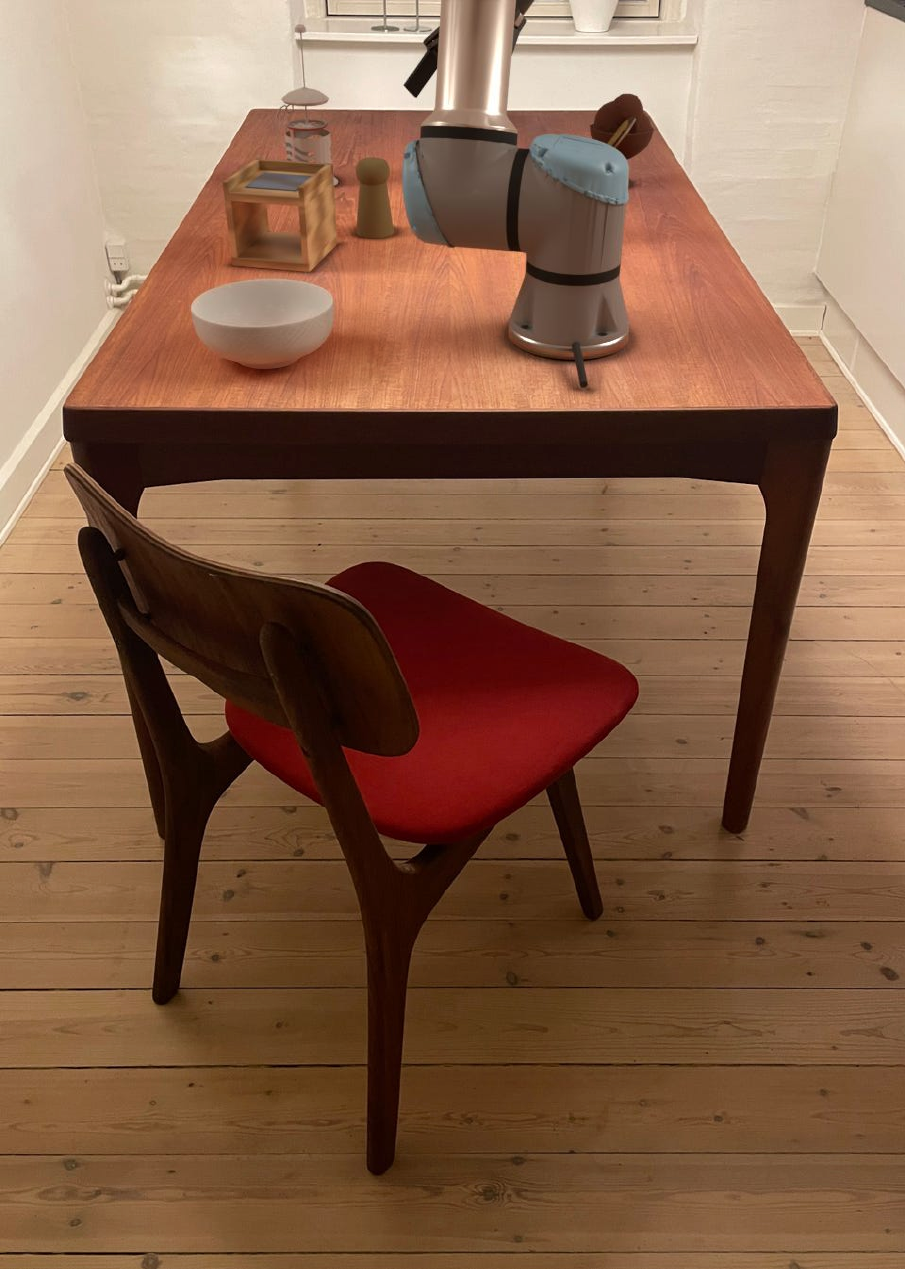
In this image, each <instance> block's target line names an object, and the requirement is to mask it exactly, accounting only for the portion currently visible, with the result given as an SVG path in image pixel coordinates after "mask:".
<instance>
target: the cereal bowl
mask: <svg viewBox="0 0 905 1269" xmlns="http://www.w3.org/2000/svg"><path fill="white" fill-rule="evenodd" d="M190 315H191V319H192V323H193V327H194V329H195V333H196V335H197V337H198V339H199V340H200V341H201V343H202V344H203V345H204V346H205V347H206V348H207V349H208V350H209V351H210V352H211V353H213V354H215V355H216V356H218V357H221V358H222V359H224V360H228V361H232V362H235V363H238V364H240V365H242V366H243V367H246V368H250V369H254V370H255V369H256V370H273V369H274V370H275V369H280V368H285V367H287V366H290V365H292V364H294V363H296V362H298V361H299V360H300V359H301V358H303V357H306V356H308V355H310V354H312V353H313V352H315V351H316V350H318V349H319V348H321V346H323V344H324V343H325V342H326V341H327V339H328V338H329V336H330V334H331V333H332V330H333V327H334V323H335V300H334V296H333V295H332V293H330V291H328V290H327V289H326V288H324V287H322V286H320V285H317V284H315V283H311V282H308V281H304V280H297V279H288V278H257V279H255V278H254V279H247V280H241V281H240V280H239V281H235V282H229V283H225V284H222V285H219V286H216V287H213V288H210V289H208V290H206V291H204V292H203V293H200V295H198V296H197V297H196V298H194V299H193V301H192V303H191V305H190Z"/></svg>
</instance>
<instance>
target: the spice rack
mask: <svg viewBox="0 0 905 1269" xmlns="http://www.w3.org/2000/svg"><path fill="white" fill-rule="evenodd" d="M315 162H316V161H312V162H311V161H308V162H300V161H287V159H285V160H282V159H270V158H258V157H257V158H255V159H253V160H252V161H250V162H249V163H248V164H246V165H245V166H243V167H241V168H240V169H239V170H238V171H236V172H235V173H233V174H232V175H230V176H229V177H227V178H226V179H224V180H223V181H222V189H223V198H224V207H225V216H226V224H227V233H228V241H229V252H230V260H231V266H236V267H246V268H247V267H248V268H257V269H258V268H259V269H270V270H279V271H280V270H281V271H290V272H302V273H310V272H311V271H312V270H313V269H314V268H315V267H316V266H317V265H318V264H319V263H320V262H322V260H323V259H324V258H326V256H327V255H328V254H329V253H330V252H331V251H332V250H333V249H334V248H335V247H337V245H338V237H337V236H338V234H337V218H336V198H335V185H334V181H333V176H334V166H333V163H331V164H329V163H315ZM267 205H276V206H277V205H278V206H289V207H297V209H298V210H297V211H298V221H299V222H298V223H299V233H297V232H286V231H275V230H274V231H273V230H270V226H269V216H268V215H269V214H268V207H267Z"/></svg>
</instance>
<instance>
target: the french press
mask: <svg viewBox="0 0 905 1269" xmlns="http://www.w3.org/2000/svg"><path fill="white" fill-rule="evenodd" d="M294 33H297V34H299V35H300V37H299V38H300V52H301V54H300V55H301V68H302V79H303V80H302V81H303V82H302V83H303V86H302V87H300V88H296V89H294V90H291V91H289V92H287V93H286V94H285V95H283V96H282V98H281V99H280V100H281V101H282V102H283V105H282V106H280V107H279V108H278V110H277V111H276V115H275V128H276V133H277V137H278V139H279V142H280V143H281V144H282V146H283V147H284V148H285V149H286V150H285V151H286V152H285V153H286V161H300V162H311V161H314V160H315V161H314V162H315V163H329V164H332V162H333V161H332V160H333V159H332V156H331V155H332V150H331V147H332V143H331V141H332V140H331V132H330V131H329V130H327V129H326V128H327V127H328V122H327V121H326V120H323V119H317V118H308V111H307V110H308V108H307V107H317V106H320V105H321V106H323V105H324V104H328V102H329V100H330V98H329V97H328V96H327V95H326V94H325V93H323V92H321V91H320V90H317V89H314V88H308V87H307V86H306V80H305V66H304V50H303V36H302V34H304V33H307V28H306V26H305V25H304V24H301V23H298V24H297V25H296V26H295V27H294ZM290 106H291V108H292V110H290V111H288V108H289V107H290ZM296 106H297V107H304V111H305V118H299V119H298V118H297V119H293V120H290V121H287V123H286V124H285V114H288V115H290V114H292V113H293V112H294V111H295V107H296ZM284 107H285V108H284ZM283 108H284V110H283V112H282V118H281V119H282V129H283V133H284V139H285V144H284V142H283V140H282V139H281V136H280V132H279V127H278V117H279V115H280V114H279V113H280V111H281V110H282V109H283ZM285 127H286V128H288V129H289V130H288V131H286V129H285ZM291 131H293V132H292V133H293V136H291ZM317 135H319V136H320V137H312V136H317ZM311 137H312V138H311ZM313 152H314V154H311V155H309V153H313ZM333 181H334V186H336V185H338V183H339V180H338V179H337V178H336V177H335V176H334V175H333Z"/></svg>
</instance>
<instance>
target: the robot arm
mask: <svg viewBox="0 0 905 1269" xmlns="http://www.w3.org/2000/svg"><path fill="white" fill-rule="evenodd" d="M534 2H535V0H440V16H439V17H440V18H439V26H437V27H436V28H435V29H434V30H433V31H432V32H431V33H429V35H427V36H426V37H425V38H424V40H423V42H422V43H423V45H424V46H425V48H426V52H425V53H424V55H423V56H422V58H421V59H420V60H419V61H418V63H417V64H416V67H415V68H414V69H413V71H412V72H411V73H410V75H409V76H408V77H407V79H406V81H405V82H404V84H403V87H404V88H405V89H406V90H407V91H408V92H409V93H410V95H411V96H412V97H413V98H415V99H418V97H419V95H420V94H421V93H422V91H423V90H424V88H425V87H426V85H428V82H429V81H430V80H431V78H432V77H433V75H434V74H435V73H436V81H435V82H436V83H435V98H434V99H435V100H434V108H433V111H432V112H431V114H429V115H428V116H427V117H426V118H425V119H424V120H423V121H422V122H421V123H420V134H419V139H414V140H412V141H409V142H408V144H407V145H405V148H404V152H403V160H402V165H401V169H402V170H401V185H402V186H401V188H402V197H403V204H404V209H405V214H406V218H407V221H408V225H409V227H410V229H411V231H412V233H413V234H414V236H415V237H416V238H417V239H418V240H419V241H420V242H423V243H425V244H429V245H436V246H445V247H447V248H449V249H455V248H462V249H478V250H487V251H489V250H490V251H500V252H501V251H502V252H515V253H524V254H525V258H526V259H525V275H524V278H523V281H522V283H521V285H520V289H519V292H518V294H517V297H516V299H515V302H514V305H513V308H512V311H511V313H510V316H509V318H508V338H509V340H510V342H511V343H512V344H513V345H514V346H516V347H517V348H519V349H521V350H523V351H525V352H527V353H529V354H532V355H535V356H539V357H544V358H550V359H557V360H570V361H571V360H572V361H574V363H575V369H576V372H577V379H578V384H579V388H582V389H585V388H587V387H588V386H589V382H588V377H587V372H586V367H585V362H584V360H591V359H592V360H593V359H598V358H602V357H606V356H610V355H613V354H615V353H617V352H619V351H621V350H622V349H623V348H624V347H626V346H627V344H628V342H629V334H630V321H629V316H628V311H627V307H626V303H625V299H624V292H623V288H622V285H621V268H622V267H621V265H622V256H623V246H624V245H623V244H624V233H625V223H626V222H625V221H626V211H627V204H628V203H629V200H630V192H629V187H628V178H629V176H630V175H629V174H630V166H629V163H628V160H626V158H625V157H624V155H623V154H622V153H621V152H620V151H618V150H617V149H615V148H614V147H612V146H610V145H608V144H606V143H603V142H600V141H597V140H594V139H592V138H590V137H586V136H582V135H577V134H576V135H575V134H569V133H557V134H554V133H544V134H540V135H537V136H535V137H533V139H532V140H531V144H530V145H529V148H522V147H521V148H520V147H518V136H519V131H518V130H517V128H516V127H515V125H514V124H513V122H512V121H511V120H510V119H509V116H508V104H509V91H510V90H509V88H510V77H511V66H512V57H513V54H514V51H515V47H516V44H517V42H518V39H519V36H520V33H521V31H522V30H523V29H524V27H525V26H526V24H527V18H526V17H525V15H526V13H527V12H528V10H529V9H530V7H531V6H532V5H533V3H534Z"/></svg>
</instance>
